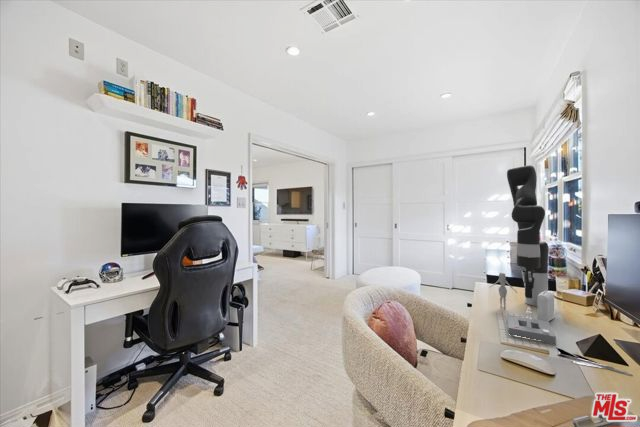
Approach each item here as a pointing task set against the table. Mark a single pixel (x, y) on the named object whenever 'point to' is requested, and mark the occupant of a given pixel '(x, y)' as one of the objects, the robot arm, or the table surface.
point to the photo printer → (545, 306)
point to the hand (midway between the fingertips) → (528, 297)
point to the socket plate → (531, 329)
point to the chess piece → (528, 317)
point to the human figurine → (502, 288)
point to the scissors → (588, 361)
